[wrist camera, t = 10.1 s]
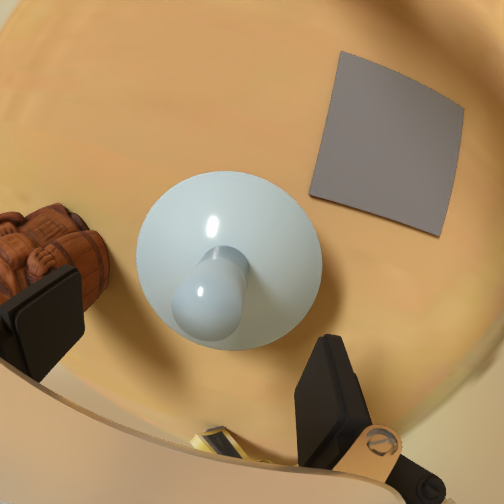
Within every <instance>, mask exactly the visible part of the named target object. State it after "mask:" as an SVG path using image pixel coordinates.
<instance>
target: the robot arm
mask: <svg viewBox="0 0 504 504" xmlns="http://www.w3.org/2000/svg"><path fill="white" fill-rule="evenodd" d="M84 331H85V324H84V313H83V299H82V277H81V274H80V273H79V270H78V269H77V268H76V267H73V266H70V265H67V264H65V265H63V266H61V267H59V268H57V269H56V270H54V271H52V272H51V273H49V274H48V275H46V276H44V277H43V278H41V279H39V280H38V281H36V282H35V283H33V284H31V285H30V286H28V287H27V288H25V289H24V290H22V291H21V292H19V293H18V294H16V295H15V296H13V297H12V298H10V299H9V300H7V301H6V302H4V303H3V304H1V305H0V504H456V503H455V502H454V501H453V500H452V499H451V498H450V499H448V500H447V499H446V498H445V496H446V488H445V485H444V483H443V481H442V480H441V479H440V478H439V477H437V476H436V475H434V474H433V473H431V472H429V471H428V470H425V469H424V468H422V467H421V466H419V465H417V464H416V463H414V462H413V461H411V460H409V459H408V458H406V457H405V456H403V455H402V454H400V453H401V450H402V441H401V439H400V437H399V436H398V434H397V433H396V432H395V431H393V430H392V429H391V428H389V427H386V426H384V425H372V422H371V418H370V415H369V412H368V409H367V406H366V402H365V399H364V396H363V393H362V390H361V387H360V384H359V381H358V378H357V376H356V374H355V373H354V372H353V369H352V366H351V363H350V360H349V358H348V355H347V352H346V349H345V346H344V343H343V340H342V338H341V336H337V335H331V334H325V335H324V336H323V337H319V338H318V340H317V342H316V344H315V347H314V349H313V351H312V354H311V356H310V358H309V360H308V363H307V365H306V367H305V369H304V371H303V374H302V376H301V378H300V380H299V382H298V384H297V386H296V389H295V394H294V399H295V414H296V431H297V449H298V465H299V466H288V465H279V464H271V463H264V462H257V461H251V460H245V459H239V458H234V457H229V456H224V455H219V454H214V453H210V452H206V451H201V450H197V449H193V448H189V447H186V446H182V445H178V444H175V443H172V442H169V441H165V440H162V439H159V438H156V437H153V436H150V435H148V434H145V433H142V432H139V431H136V430H134V429H131V428H128V427H126V426H123V425H121V424H118V423H116V422H114V421H111V420H109V419H107V418H104V417H102V416H100V415H98V414H96V413H93V412H91V411H89V410H87V409H85V408H83V407H81V406H79V405H77V404H75V403H73V402H71V401H69V400H67V399H66V398H64V397H62V396H60V395H58V394H56V393H55V392H53V391H51V390H49V389H48V388H46V387H44V386H43V385H41V384H39V383H40V382H41V381H42V380H43V378H44V377H45V376H46V375H47V374H48V373H49V372H50V370H51V369H52V368H53V367H54V366H55V365H56V364H57V363H58V362H59V361H60V359H61V358H62V357H63V356H64V355H65V354H66V353H67V352H68V351H69V350H70V349H71V348H72V347H73V345H74V344H75V343H76V342H77V341H78V340H79V339H80V338H81V337H82V336H83V334H84Z"/></svg>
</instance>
